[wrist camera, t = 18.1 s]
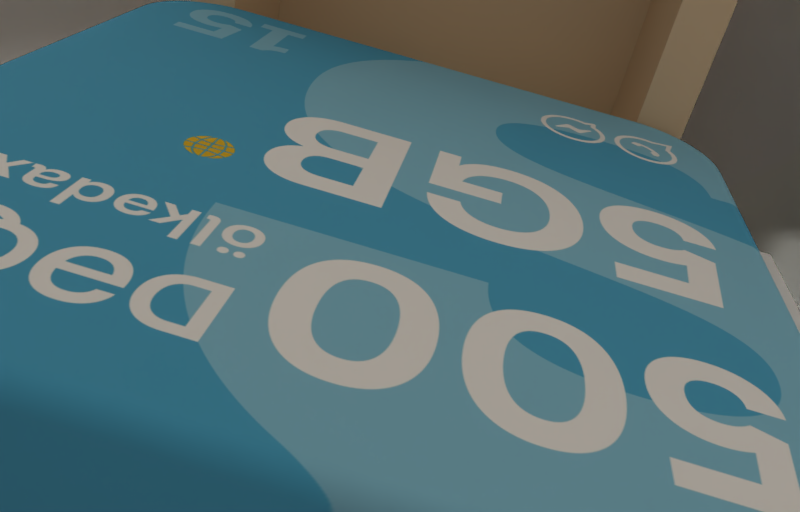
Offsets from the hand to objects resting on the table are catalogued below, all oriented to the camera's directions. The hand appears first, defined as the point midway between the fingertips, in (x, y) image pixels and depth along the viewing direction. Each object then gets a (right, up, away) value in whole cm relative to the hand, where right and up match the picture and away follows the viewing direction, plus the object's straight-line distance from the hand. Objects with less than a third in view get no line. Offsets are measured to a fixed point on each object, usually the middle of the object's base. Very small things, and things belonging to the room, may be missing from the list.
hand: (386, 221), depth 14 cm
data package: (+1, +2, +3) cm, 4 cm away
